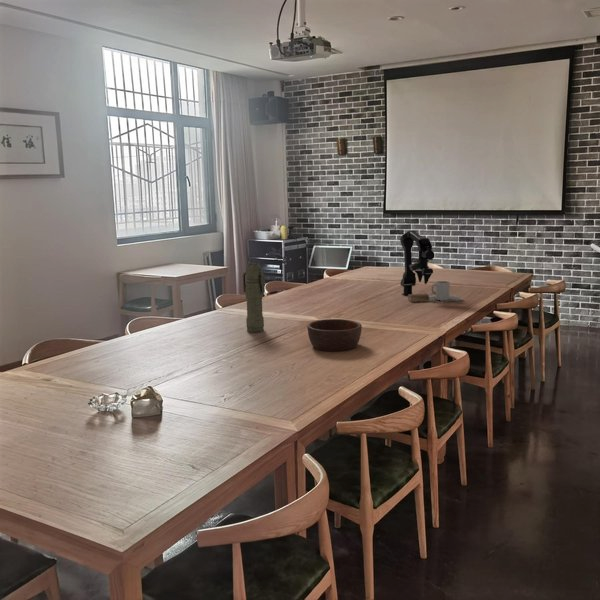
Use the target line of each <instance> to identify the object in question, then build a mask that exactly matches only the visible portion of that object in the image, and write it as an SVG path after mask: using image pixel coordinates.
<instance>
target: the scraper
mask: <svg viewBox="0 0 600 600" xmlns="http://www.w3.org/2000/svg"><path fill="white" fill-rule="evenodd" d="M435 297H436V296H434V295H433V294H432V295H431V294H429V293H414V294H413V293H412V294H410V295H408V297H407V298H408V301H409V303H418V302H417V301H425V302H429V301H430V302H429V303H435V302H434V301H435V300H436V299H435ZM408 301H407V302H408Z"/></svg>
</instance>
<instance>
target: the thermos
mask: <svg viewBox="0 0 600 600" xmlns="http://www.w3.org/2000/svg"><path fill="white" fill-rule="evenodd" d="M265 283H266V279H265V274H264V272H262V270H261V266H260V263H258V262H250V263H247V264H246V267H245V272H243V273H242V289H243V293H244V294H245V298H246V318H245V321H246V323H245V324H246V332H247V333H250V334H259V333H263V332H265V330H264V326H265V320H264V319H265V318H264V315H263V298H264V294H265V292H266V291H265V288H266V286H265Z"/></svg>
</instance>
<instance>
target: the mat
mask: <svg viewBox="0 0 600 600" xmlns="http://www.w3.org/2000/svg"><path fill="white" fill-rule="evenodd" d="M434 297H435V300H436V296H434ZM463 300H464V299H462V298H460V297H457V296H455V295H449V300H444V301H442V300H440V302H441V301H442V302H441V303H447V302H446V301H456V302H464V301H463Z"/></svg>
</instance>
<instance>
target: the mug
mask: <svg viewBox="0 0 600 600" xmlns="http://www.w3.org/2000/svg"><path fill="white" fill-rule="evenodd" d="M450 287H451V286H450V281H445V280H439V281H438V280H437V281H436V282H435V283H433V284H432V285H431V294H432V295H435V297H436V299H435V300H436V301H439V300H442V301H444V300H449V296H450V291H451V289H450ZM434 288H435V290H434Z"/></svg>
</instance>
